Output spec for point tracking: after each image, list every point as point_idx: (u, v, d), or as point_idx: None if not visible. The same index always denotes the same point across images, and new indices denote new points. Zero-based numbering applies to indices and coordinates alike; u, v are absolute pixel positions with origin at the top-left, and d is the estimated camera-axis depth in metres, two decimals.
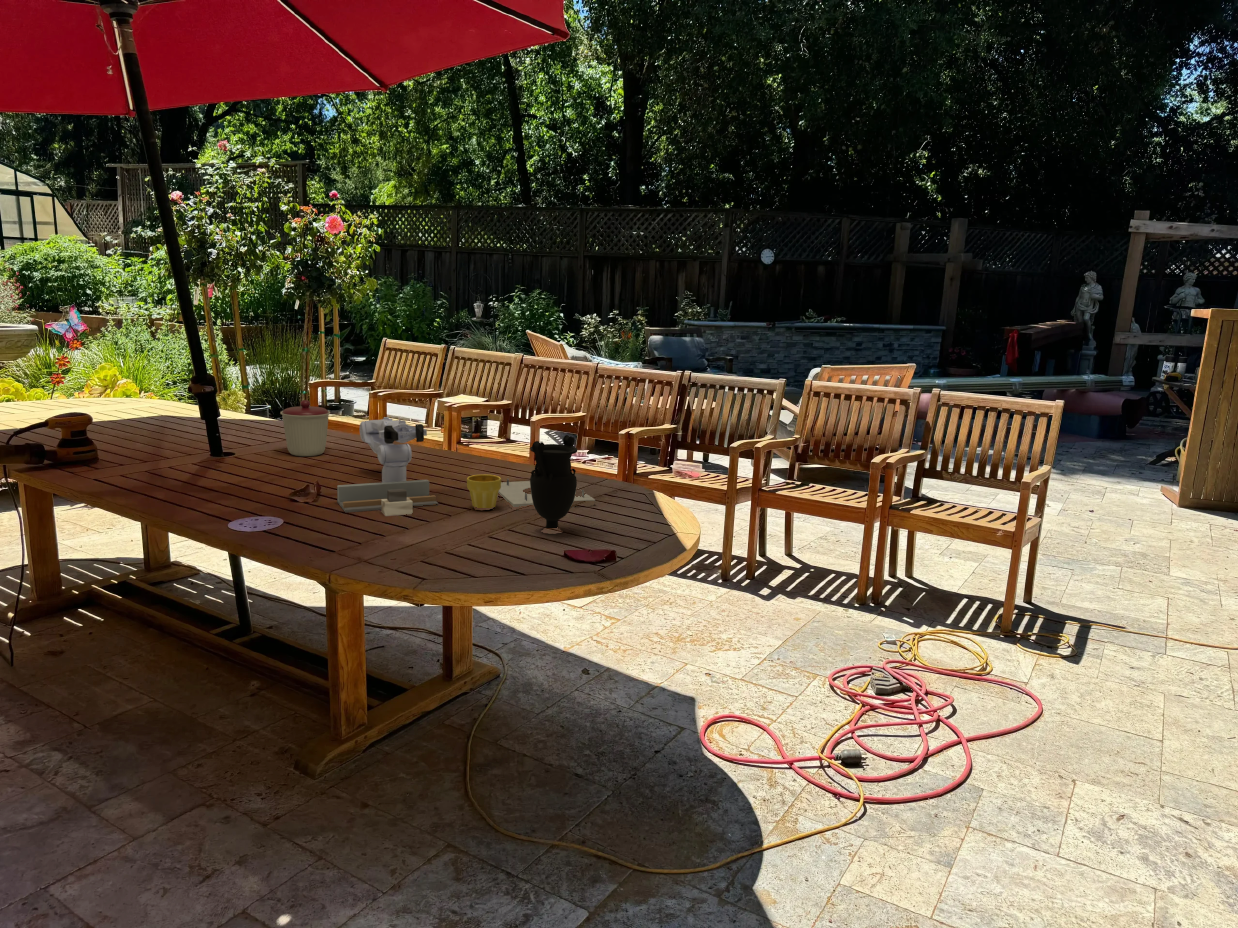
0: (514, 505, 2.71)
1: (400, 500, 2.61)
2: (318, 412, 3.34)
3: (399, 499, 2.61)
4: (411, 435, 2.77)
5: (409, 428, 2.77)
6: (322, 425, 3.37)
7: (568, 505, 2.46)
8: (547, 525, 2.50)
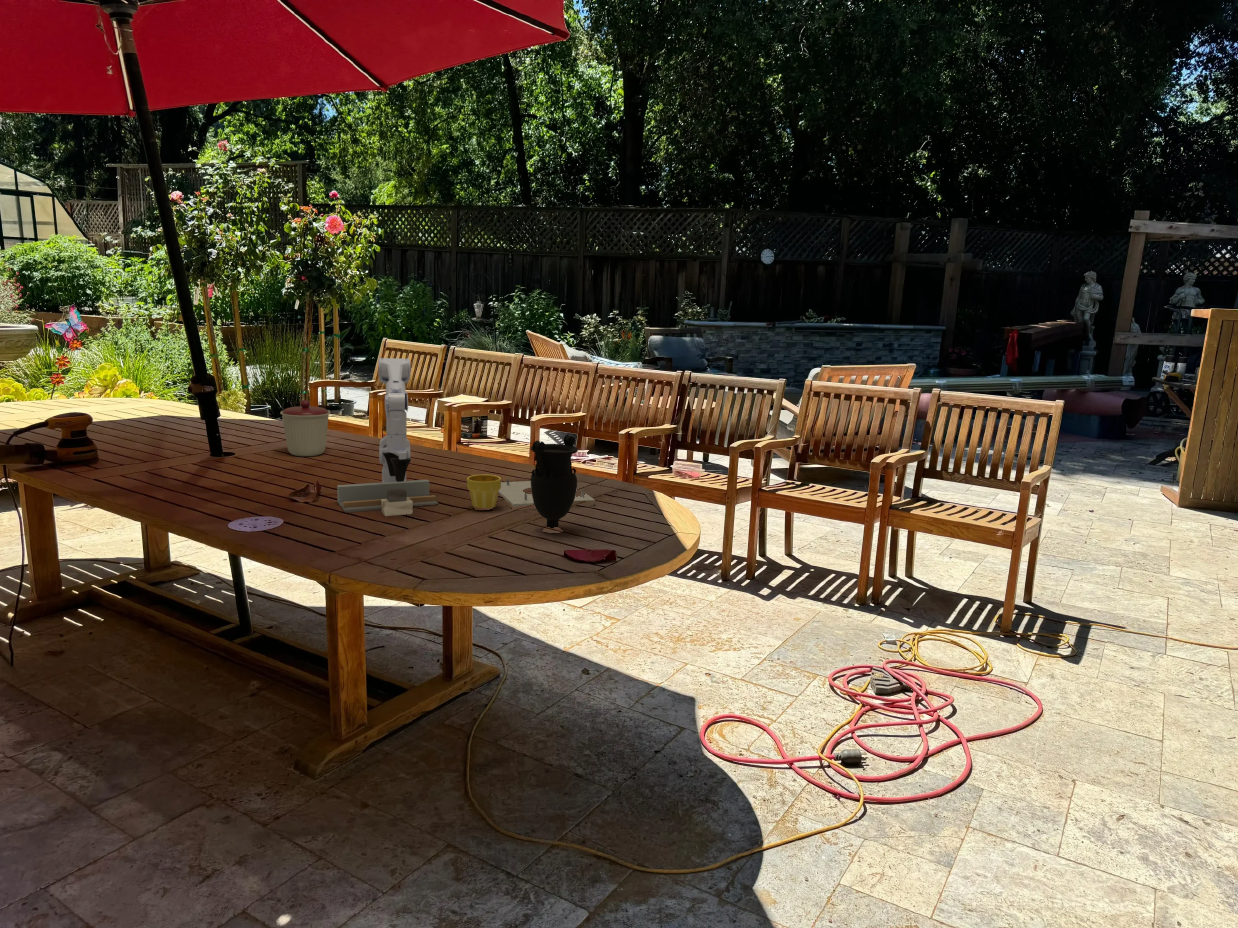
0: (514, 505, 2.71)
1: (400, 500, 2.61)
2: (318, 412, 3.34)
3: (399, 499, 2.61)
4: None
5: None
6: (322, 425, 3.37)
7: (568, 505, 2.47)
8: (547, 524, 2.51)
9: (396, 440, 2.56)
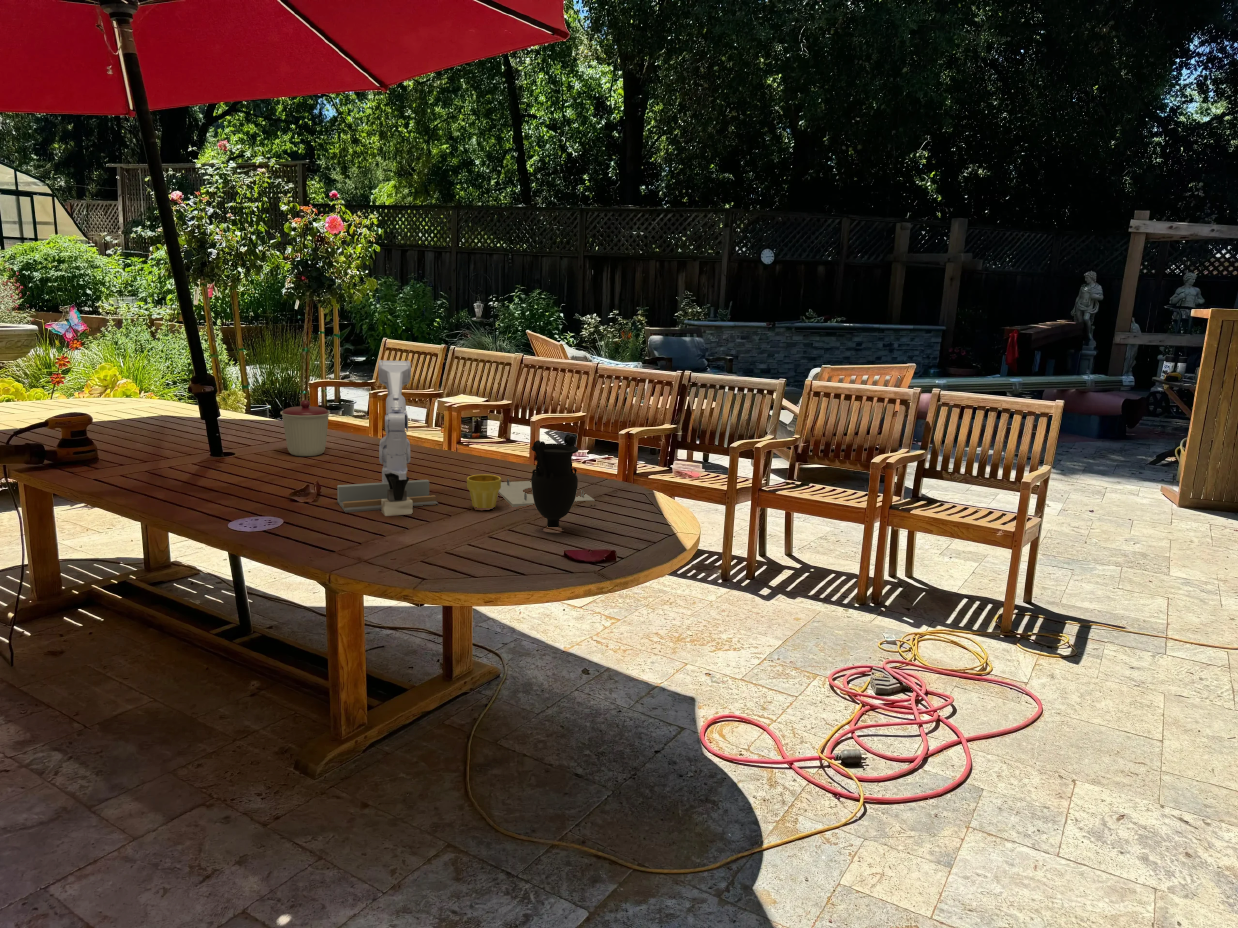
0: (513, 505, 2.72)
1: (400, 500, 2.61)
2: (318, 412, 3.34)
3: None
4: None
5: None
6: (322, 425, 3.37)
7: (569, 504, 2.47)
8: (548, 524, 2.51)
9: (396, 460, 2.57)
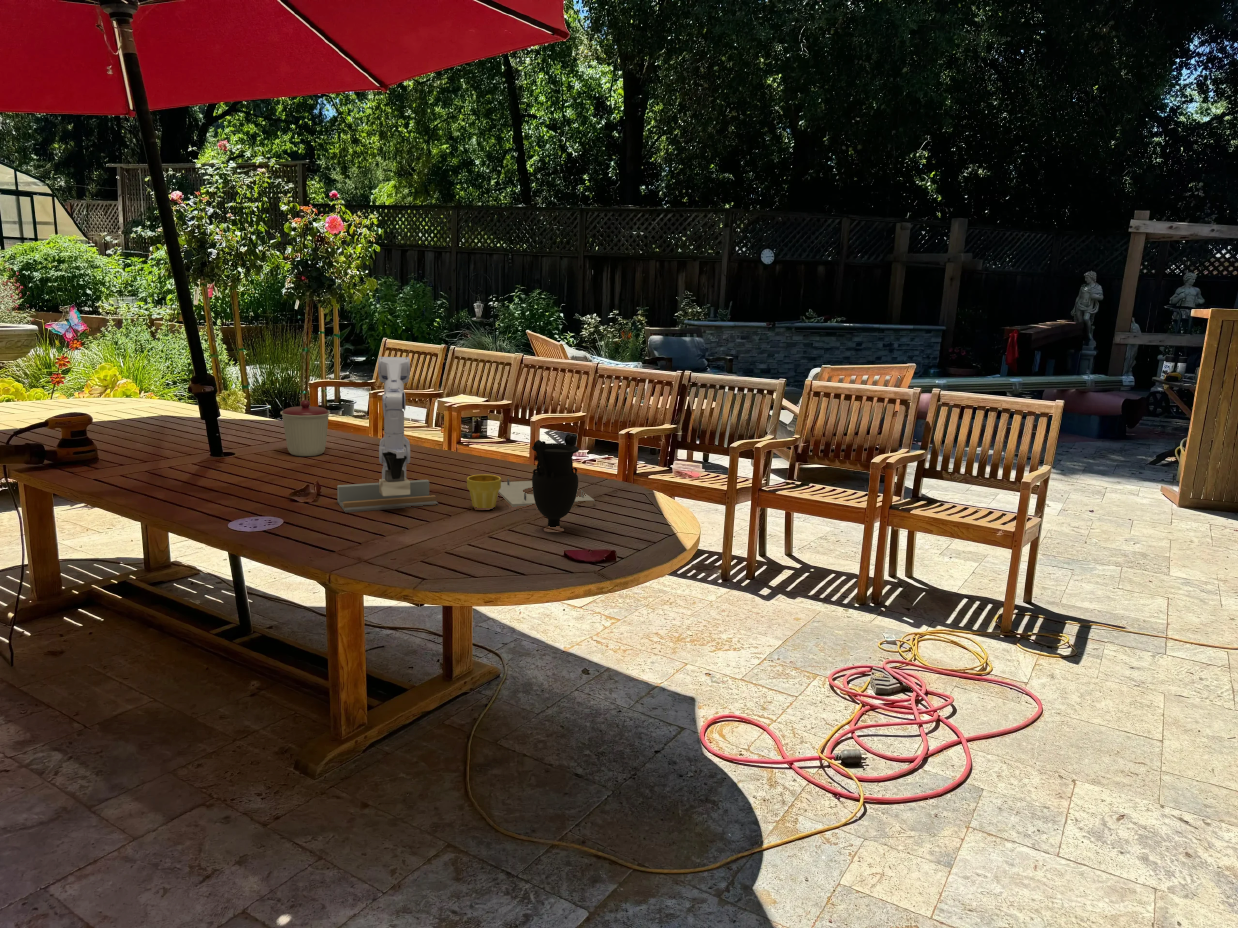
0: (513, 505, 2.72)
1: (398, 480, 2.63)
2: (318, 412, 3.34)
3: (397, 479, 2.63)
4: None
5: None
6: (322, 425, 3.37)
7: (570, 504, 2.48)
8: (549, 524, 2.51)
9: (394, 439, 2.59)
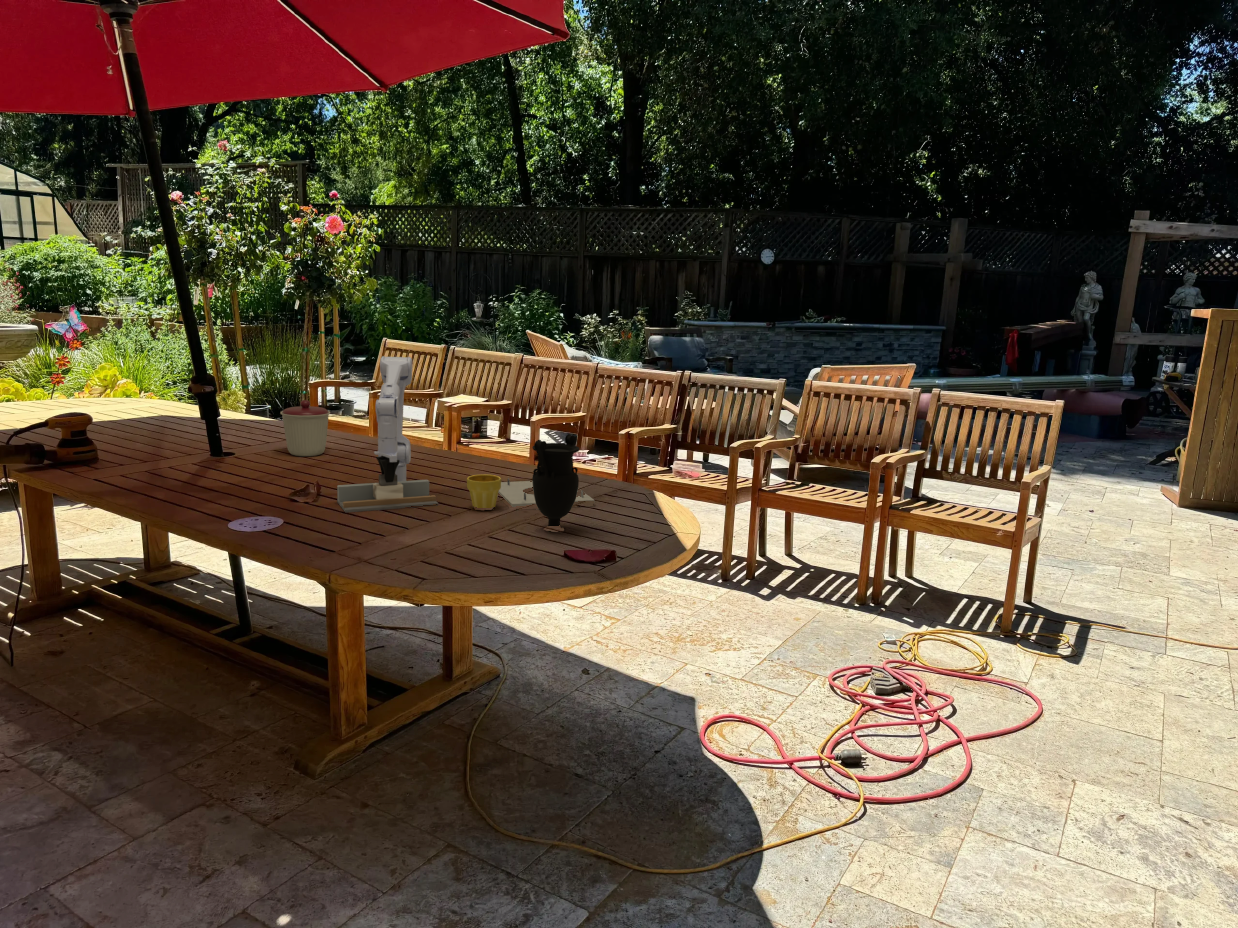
0: (512, 505, 2.72)
1: (391, 484, 2.70)
2: (318, 412, 3.34)
3: (390, 483, 2.70)
4: None
5: None
6: (322, 425, 3.37)
7: (570, 503, 2.48)
8: (549, 523, 2.52)
9: (387, 443, 2.66)
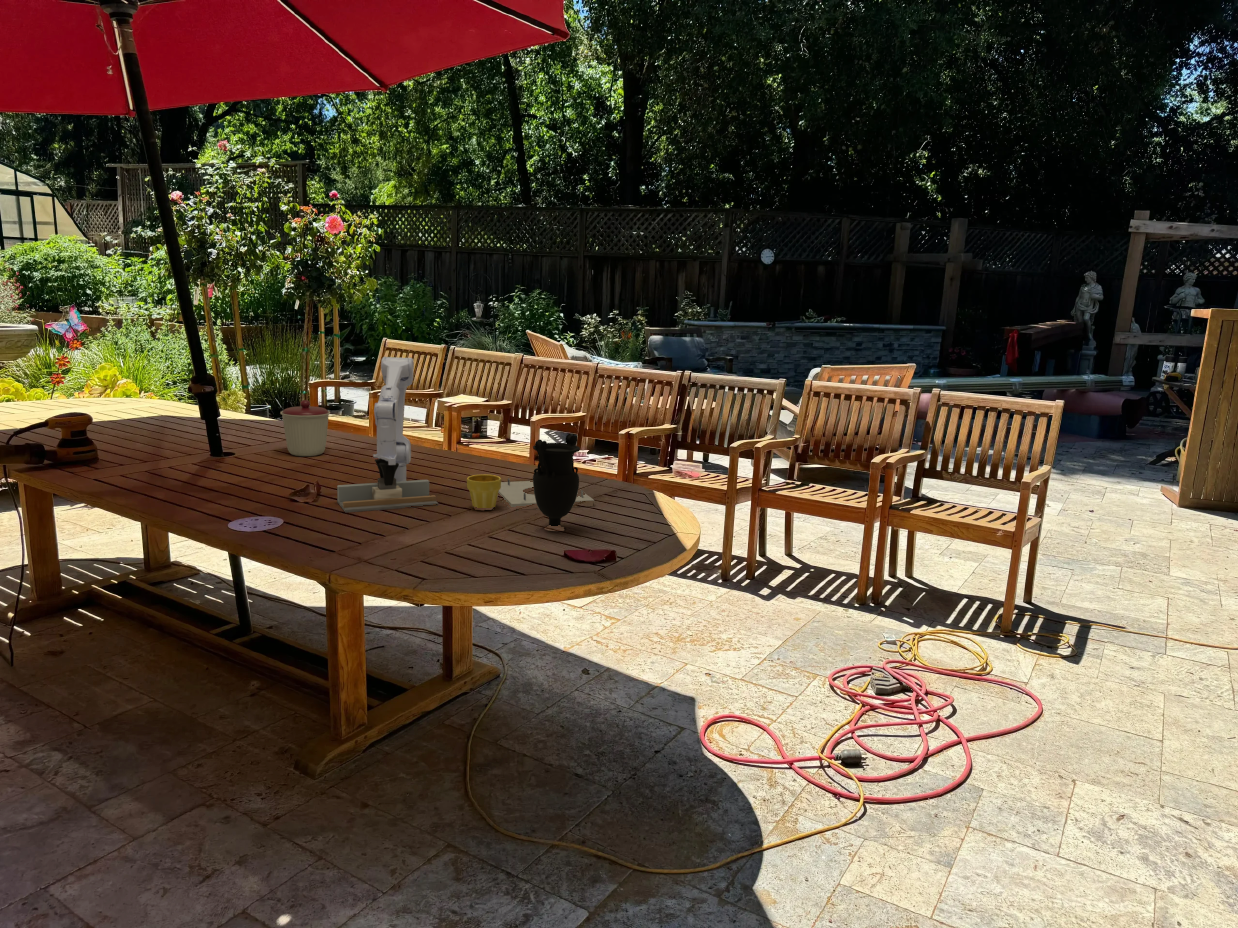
0: (512, 505, 2.72)
1: (390, 488, 2.72)
2: (318, 412, 3.34)
3: (389, 487, 2.72)
4: None
5: None
6: (322, 425, 3.37)
7: (570, 503, 2.49)
8: (550, 523, 2.52)
9: (386, 446, 2.68)
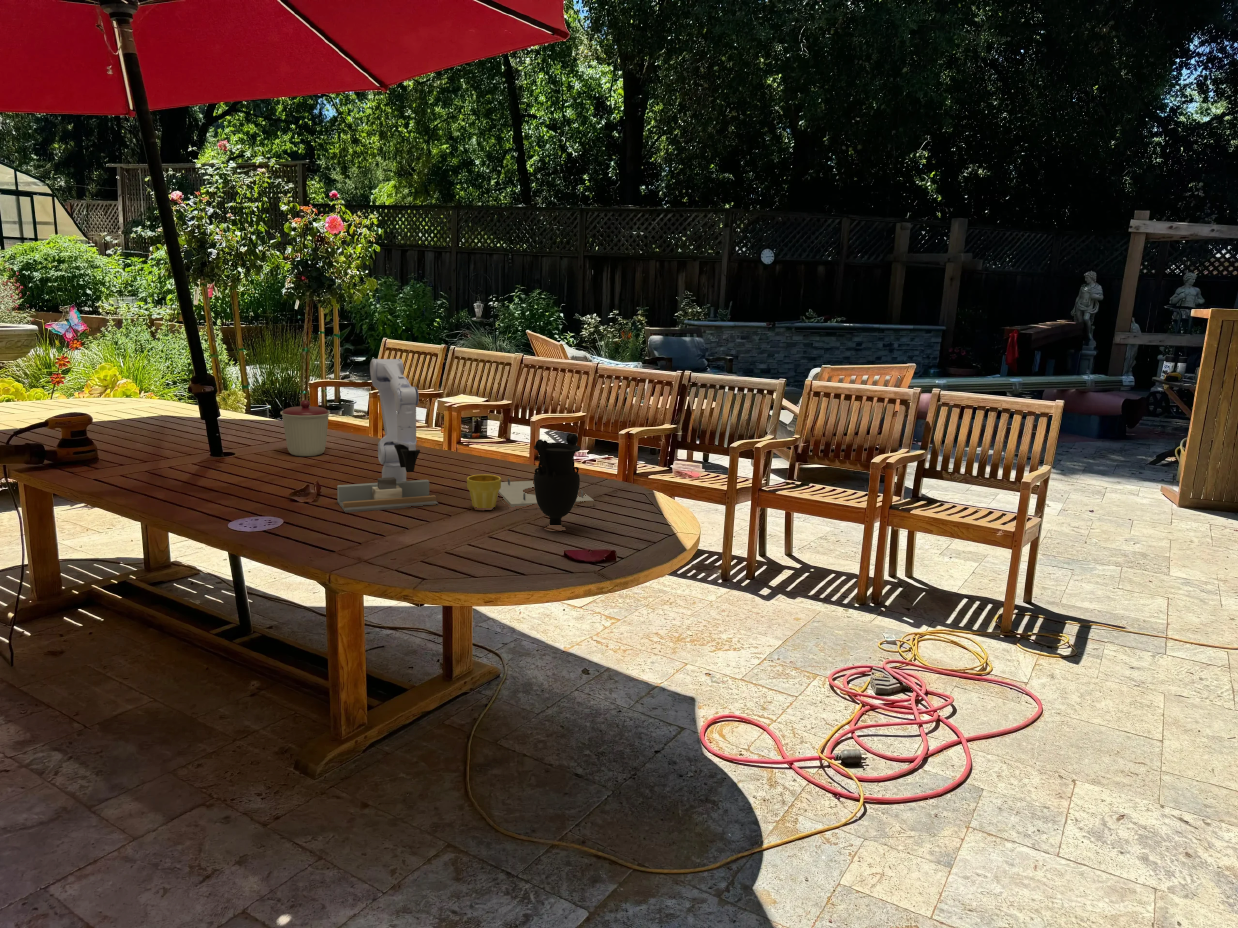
0: (512, 505, 2.72)
1: (390, 488, 2.72)
2: (318, 412, 3.34)
3: (389, 487, 2.72)
4: None
5: None
6: (322, 425, 3.37)
7: (571, 503, 2.49)
8: (550, 523, 2.53)
9: (406, 432, 2.69)
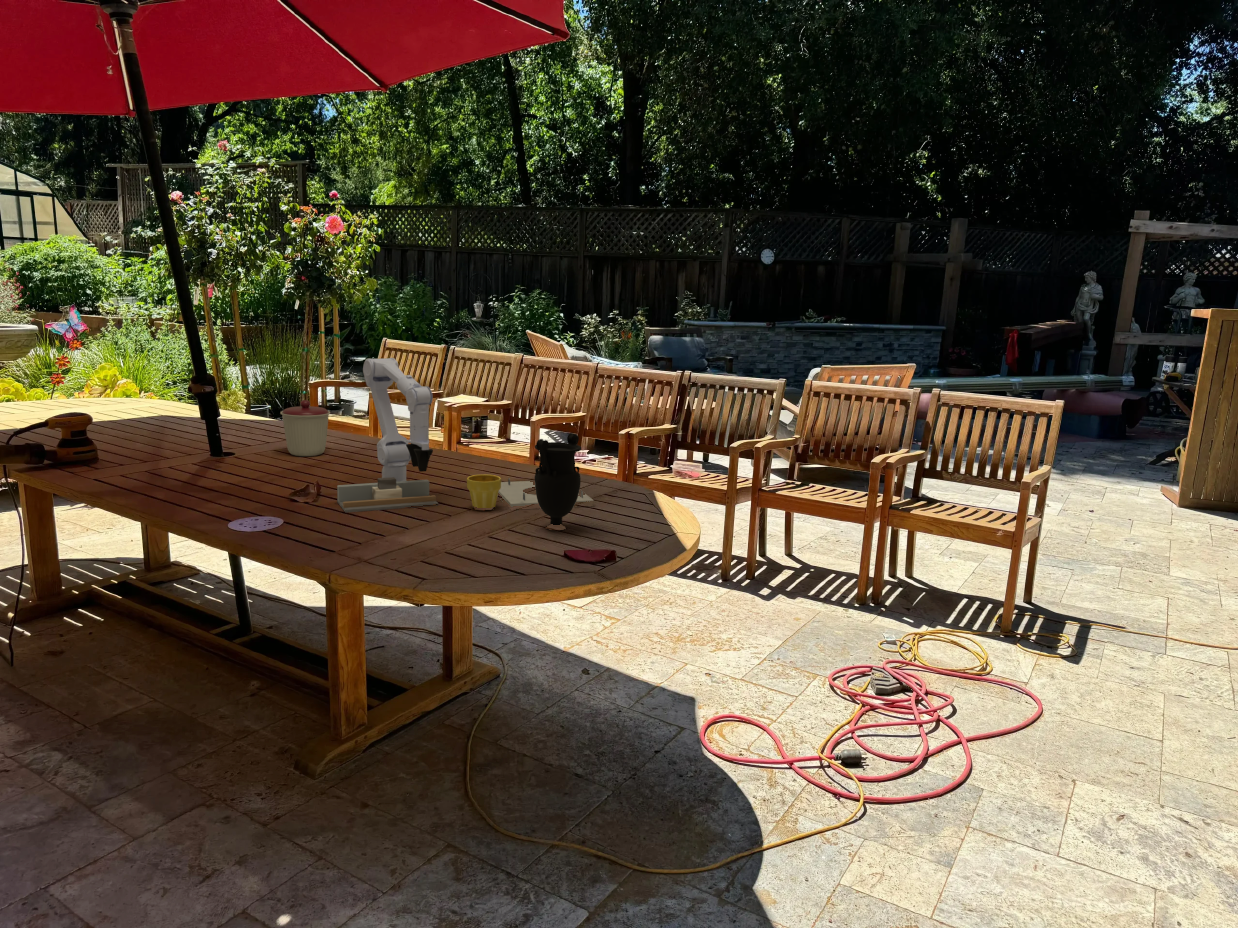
0: (511, 505, 2.72)
1: (390, 488, 2.72)
2: (318, 412, 3.34)
3: (389, 487, 2.72)
4: None
5: None
6: (322, 425, 3.37)
7: (572, 502, 2.50)
8: (551, 522, 2.53)
9: (419, 432, 2.71)
